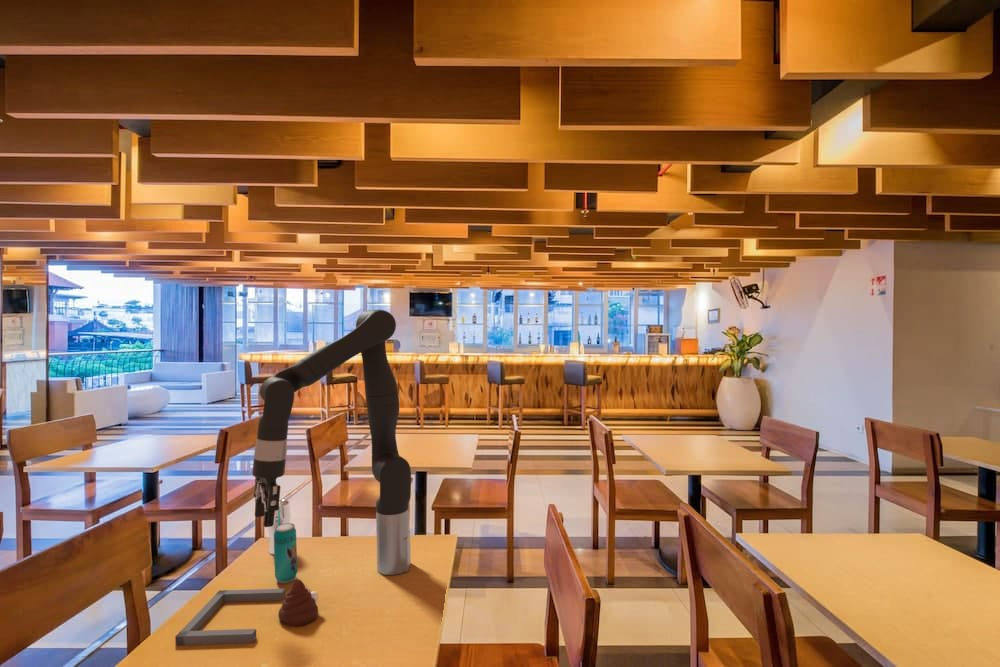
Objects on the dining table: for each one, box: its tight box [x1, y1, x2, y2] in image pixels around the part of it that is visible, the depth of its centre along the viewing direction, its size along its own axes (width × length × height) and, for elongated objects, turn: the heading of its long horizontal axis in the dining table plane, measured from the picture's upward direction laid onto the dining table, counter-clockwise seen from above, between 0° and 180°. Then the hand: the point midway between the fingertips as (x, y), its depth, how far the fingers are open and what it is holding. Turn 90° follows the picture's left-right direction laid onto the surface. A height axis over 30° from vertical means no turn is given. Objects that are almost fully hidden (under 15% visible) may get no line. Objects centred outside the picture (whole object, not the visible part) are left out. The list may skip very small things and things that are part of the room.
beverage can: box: [274, 522, 298, 584], centre depth 148 cm, size 6×6×15 cm
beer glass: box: [267, 499, 291, 555], centre depth 167 cm, size 7×7×15 cm
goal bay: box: [174, 588, 286, 646], centre depth 129 cm, size 17×20×2 cm
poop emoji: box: [278, 578, 319, 627], centre depth 130 cm, size 10×8×9 cm
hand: (263, 521), depth 134 cm, fingers open, 8 cm apart
